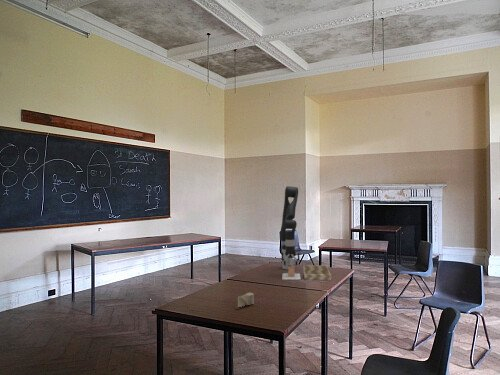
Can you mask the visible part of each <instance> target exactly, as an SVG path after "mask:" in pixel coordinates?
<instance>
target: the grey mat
mask: <svg viewBox="0 0 500 375" xmlns="http://www.w3.org/2000/svg"><path fill="white" fill-rule="evenodd" d="M281 278H282V279H281V280H282V281H283V280H285V281H286V280H287V281H292V280H293V281H295V280H296V281H301V273H296V272H295V276H294V277H289V276H288V272H286V273H284V272H283V273H282V276H281Z"/></svg>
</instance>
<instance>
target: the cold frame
mask: <svg viewBox="0 0 500 375" xmlns="http://www.w3.org/2000/svg"><path fill="white" fill-rule="evenodd" d="M302 267H303V270H302V272H303V279H304V281H331V280H332V274H331V272H330V270H329V265H303V266H302Z"/></svg>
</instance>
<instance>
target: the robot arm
mask: <svg viewBox="0 0 500 375" xmlns="http://www.w3.org/2000/svg"><path fill="white" fill-rule="evenodd" d="M298 197H299V188H298V187H296V186H288V185H287V186H285V189H284V201H283V202H284V203H283V210H282V217H281V218H282V219H281V220H282V221H281V227H280V232H279V240H280V242H285V244H282V246H281V269H282V270H288V266H289V265H294V262H293V260H295V266H298V261H300V253H299V251H298V252H296V240H295V237H296V236H295V234H296V228H297V224H298V223H297V221H296V220H295V217H296V207H297V203H298ZM290 198H292V201H291V202H290V200H289V199H290ZM296 256H297V257H296Z"/></svg>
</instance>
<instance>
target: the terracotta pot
mask: <svg viewBox="0 0 500 375" xmlns="http://www.w3.org/2000/svg"><path fill="white" fill-rule="evenodd" d="M295 268H296V265H294V264H293V265H289V266H288V269H287V273H288V276H289V277H294V276H295V273H296V271H295V270H296V269H295Z"/></svg>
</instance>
